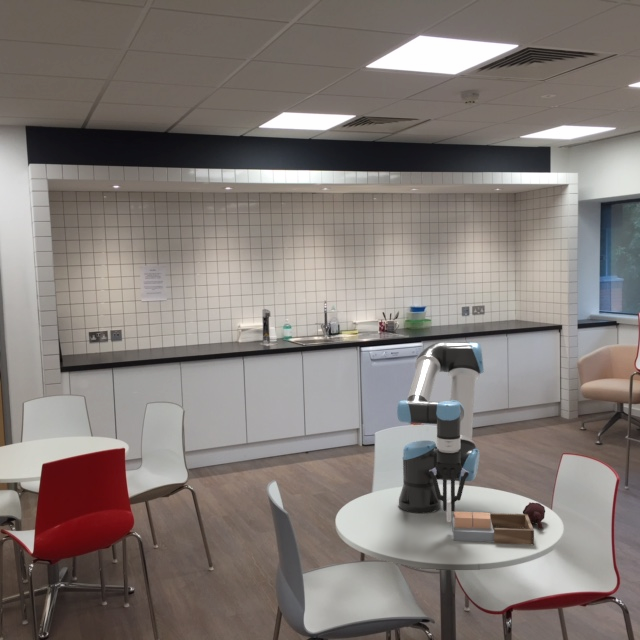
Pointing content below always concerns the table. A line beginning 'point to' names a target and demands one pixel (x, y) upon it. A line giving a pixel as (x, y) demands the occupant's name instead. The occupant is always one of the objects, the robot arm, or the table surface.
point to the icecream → (535, 513)
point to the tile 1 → (463, 519)
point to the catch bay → (512, 535)
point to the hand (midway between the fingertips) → (448, 520)
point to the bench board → (473, 533)
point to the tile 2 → (481, 520)
